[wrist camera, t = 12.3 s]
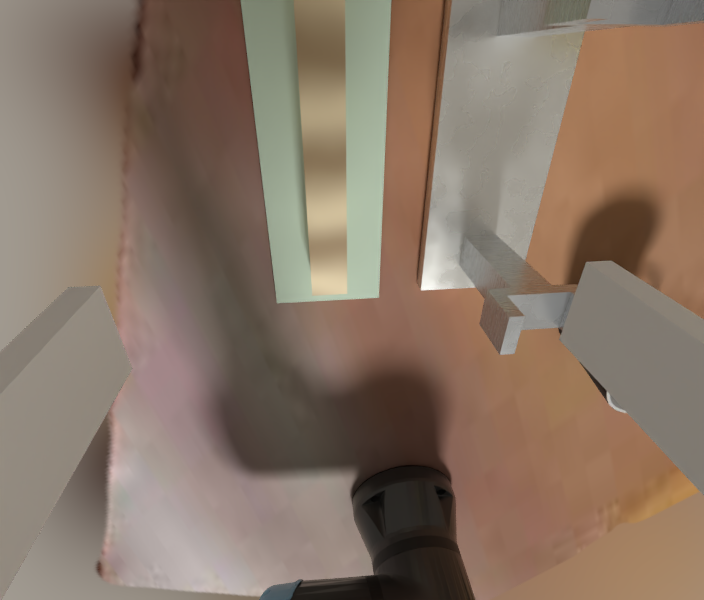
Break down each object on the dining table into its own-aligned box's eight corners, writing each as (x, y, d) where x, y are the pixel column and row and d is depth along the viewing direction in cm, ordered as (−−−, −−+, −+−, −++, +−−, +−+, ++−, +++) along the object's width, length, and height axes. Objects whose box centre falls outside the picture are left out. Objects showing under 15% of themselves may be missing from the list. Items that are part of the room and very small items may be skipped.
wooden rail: (343, 272, 37) (347, 293, 33) (311, 274, 36) (312, 295, 33) (339, -30, 25) (344, -44, 22) (292, -31, 25) (290, -46, 21)
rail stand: (511, 277, 40) (604, 374, 28) (416, 282, 39) (468, 384, 27) (595, -61, 26) (851, -167, 14) (451, -65, 25) (590, -183, 13)
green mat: (377, 293, 39) (378, 297, 38) (277, 298, 38) (276, 303, 38) (392, -88, 24) (395, -92, 24) (231, -93, 24) (228, -98, 23)
